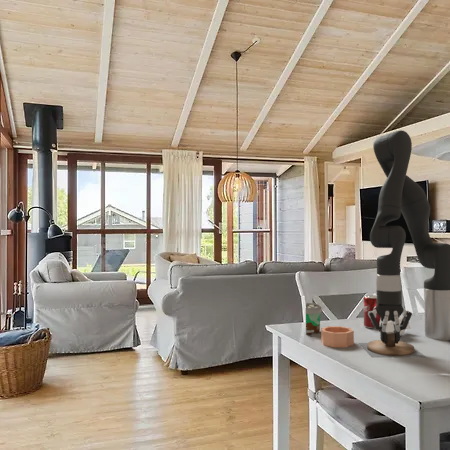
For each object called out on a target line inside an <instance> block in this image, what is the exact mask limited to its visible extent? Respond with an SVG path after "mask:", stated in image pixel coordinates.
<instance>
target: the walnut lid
mask: <svg viewBox="0 0 450 450" xmlns="http://www.w3.org/2000/svg"><path fill="white" fill-rule="evenodd" d="M386 333H387V344H384V343H383V342H382V341H381V339H378V340H377V339H376V340H372V341H369V342H366V343H367V349H368V350H369V351H371V352H373V353H377V354H381V355H388V356H406V355H411V354H413V353H414V348H415V346H414V345H413V344H410V343H408V342H404V341H402V340H400V341H399V342H398V344H395V333H393V332H386Z"/></svg>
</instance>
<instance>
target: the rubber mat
mask: <svg viewBox="0 0 450 450" xmlns="http://www.w3.org/2000/svg"><path fill="white" fill-rule="evenodd" d="M367 343H368V342H358V345H360V347H362V349H363V350H364V351H365V352H366V353H367V355H369V356H370V357H371V358H427V356H426V355H424V354H423V353H422V352H420V351H419V350H417V349H416V348H415V347H414V353H413V354H411V355H406V356H388V355H381V354H377V353H373V352H371V351H369V350H368V349H367Z"/></svg>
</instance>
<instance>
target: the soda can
mask: <svg viewBox="0 0 450 450" xmlns="http://www.w3.org/2000/svg"><path fill="white" fill-rule="evenodd" d="M362 300H363V304H362V305H363V326H364V327H365V328H366V327H367V329H370V328H373V329H372V330H376V329H375V328H374V326H373V324H372V322H371V320H370V318H369V315H368V311H373V310H375V308H376V306H377V294H376V295H374V294H371V295H370V294H368V295H364V296H363V297H362ZM375 318H376V321H377V323H378V325H379V326H380V319H381V317H380V316H379V315H378V313H376V317H375Z"/></svg>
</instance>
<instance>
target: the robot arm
mask: <svg viewBox="0 0 450 450" xmlns="http://www.w3.org/2000/svg"><path fill="white" fill-rule="evenodd" d="M412 145H413V143H412V138H411V136H410V134H409V133H408V132H407V131H405V130H402V129H400V130H396V131H393V132H389V133H387V134H384V135H381V136H378V137H376V138H375V139H374V141H373V146H372V147H373V152H374V155H375V158H376V160H377V162H378V164H379V165H380V168H381V169H382V171H383V173H384V176H386V179H385V181H384V183H383V184H382V186H381V189H380V192H379V194H378V203H377V204H378V207H377V214H376V217H375V220H374V223H373V226H372V228H371V229H370V230H371V231H370V233H369V241H370V243H371V245H372V246H373V247H374V248H377V249H391V252H390V253H388V254H384V255H380V256H378V257H377V258H376V285H375V286H376V287H375V288H376V296H377V306H376V308H375V310H373V311H368V315H369V318H370V320H371V322H372V324H373V326H374V328H375V329H374V330H376V331H379V334H380V335H379V336H380V339H379V340H381V341H382V342H383V343H384V344H387V333H386V332H385V331H386V326H387V323H388V321H392V323H393V327H394V331H393V332H394V333H395V344H398V342H399V341H401V336H400V331H401V330H405V331H406V330H407V329H406V327H407V325H408V323H410V320H411V317H412V315H413V313H412V312H411V311H409V310H406V309H404V307H403V291H402V289H403V285H402V277H401V258H402V253H403V249H404V246H405V244H406V243H405V242H406V239H407V235H406V231H405V229H404V228H403V227H402V226H400V225H387V224H388V223H390V222H392V221H396V220H399V219H400V217H401V215H402V216H403V219H404V220H405V223H406V225H407V229H408V231H409V234H410V236H411V240H412V243H413V246H414V249H415V253H416V257H417V259H418V262H419V264H420V265H421V266H422V267H424V268H426V269H432V270H434V271H433V272H434V273H433V276H432V277H430V278H426V279H425V280H424V281H423V295H424V297H423V301H424V303H423V305H424V308H423V309H424V335H425V336H424V337H426V338H427V339H433V340H438V341H450V243H444V242H441V243H440V242H433V240H432V238H431V235H430V232H429V229H428V225H429V219H430V215H431V205H430V203H429V200H428V197H427V195H426V192H425V190H424V189H423V188H422V186H420V184H419V183H417V182H416V181H414V180H413V179H412V178H411V177H409V176H408V175H407V172H408V168H409V164H410V160H411V154H412V149H413V147H412ZM376 313H378V315H379V316H380V317H381V319H380V326H379V325H378V323H377V321H376V318H375V317H376ZM400 315H401V316H402V317H403V319H402V321H401V324H400V325H399V319H398V318H399V317H400Z"/></svg>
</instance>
